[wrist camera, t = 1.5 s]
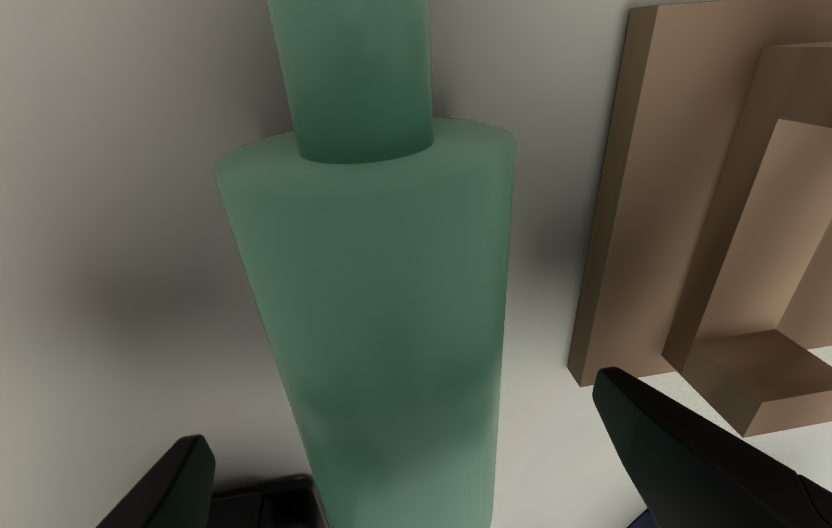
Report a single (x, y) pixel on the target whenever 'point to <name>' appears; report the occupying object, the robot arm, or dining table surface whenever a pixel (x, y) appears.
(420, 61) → the small bottle
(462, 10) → the dining table surface
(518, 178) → the dining table surface
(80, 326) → the dining table surface
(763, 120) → the bottle rest
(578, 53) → the dining table surface
